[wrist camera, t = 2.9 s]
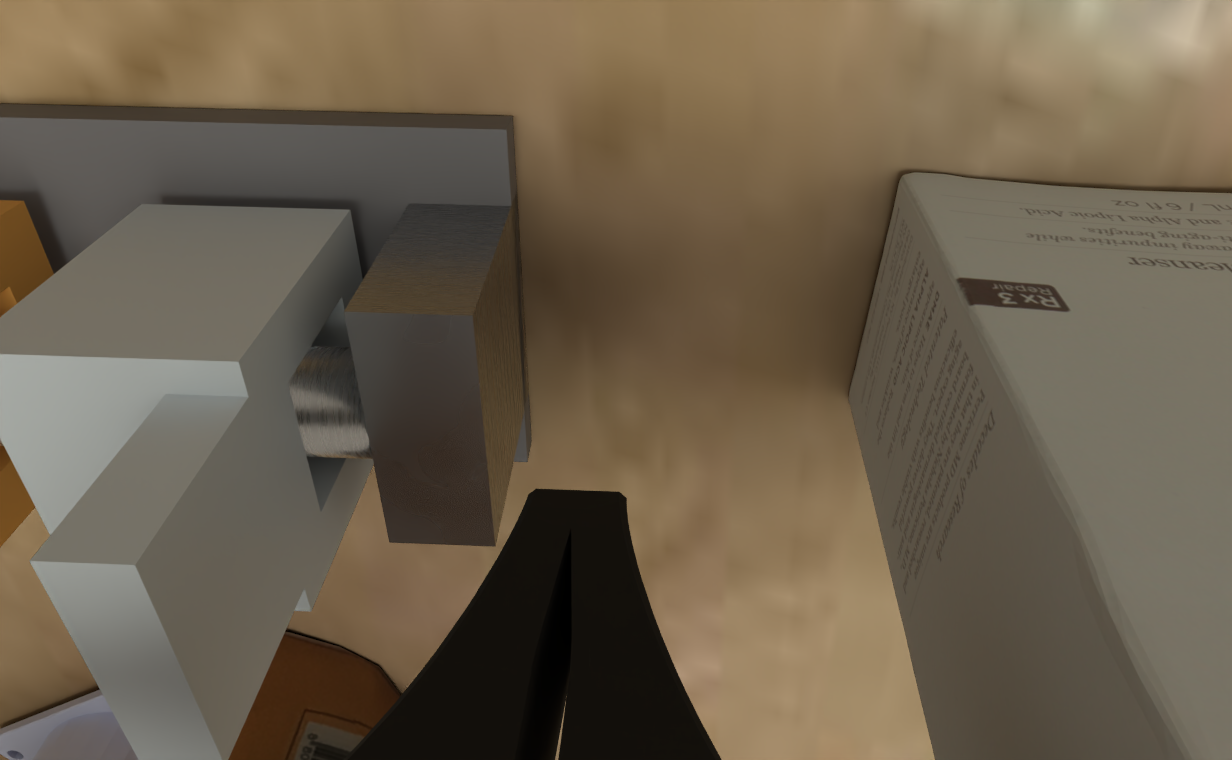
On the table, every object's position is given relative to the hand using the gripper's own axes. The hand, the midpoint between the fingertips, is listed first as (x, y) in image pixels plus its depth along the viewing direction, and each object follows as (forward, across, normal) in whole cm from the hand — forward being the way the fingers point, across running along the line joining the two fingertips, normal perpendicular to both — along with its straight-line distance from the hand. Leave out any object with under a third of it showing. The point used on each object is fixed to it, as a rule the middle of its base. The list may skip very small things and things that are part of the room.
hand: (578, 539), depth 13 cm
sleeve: (+6, +7, 0) cm, 9 cm away
